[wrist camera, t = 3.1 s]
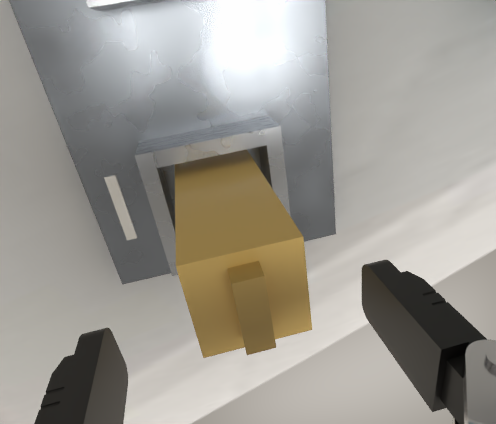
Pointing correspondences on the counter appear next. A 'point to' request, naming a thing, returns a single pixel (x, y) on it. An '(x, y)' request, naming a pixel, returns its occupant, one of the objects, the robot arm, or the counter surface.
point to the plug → (238, 256)
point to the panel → (184, 106)
